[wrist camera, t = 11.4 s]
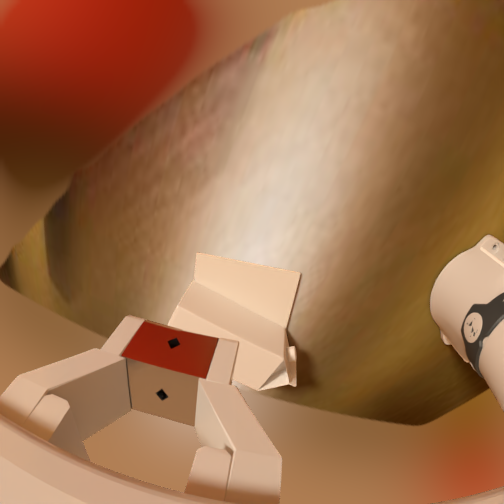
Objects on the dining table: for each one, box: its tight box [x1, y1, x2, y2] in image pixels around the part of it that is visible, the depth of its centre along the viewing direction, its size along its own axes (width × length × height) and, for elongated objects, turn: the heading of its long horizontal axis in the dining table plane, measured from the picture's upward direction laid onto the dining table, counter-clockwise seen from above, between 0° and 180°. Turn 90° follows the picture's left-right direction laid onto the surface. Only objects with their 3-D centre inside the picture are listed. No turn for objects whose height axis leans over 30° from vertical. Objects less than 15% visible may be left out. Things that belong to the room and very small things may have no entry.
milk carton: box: [167, 280, 297, 391], centre depth 44 cm, size 7×7×19 cm
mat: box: [194, 252, 301, 329], centre depth 46 cm, size 14×13×1 cm
